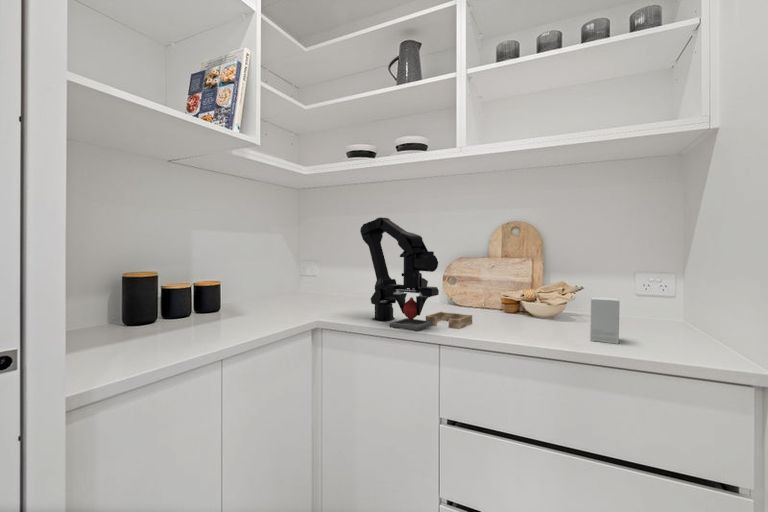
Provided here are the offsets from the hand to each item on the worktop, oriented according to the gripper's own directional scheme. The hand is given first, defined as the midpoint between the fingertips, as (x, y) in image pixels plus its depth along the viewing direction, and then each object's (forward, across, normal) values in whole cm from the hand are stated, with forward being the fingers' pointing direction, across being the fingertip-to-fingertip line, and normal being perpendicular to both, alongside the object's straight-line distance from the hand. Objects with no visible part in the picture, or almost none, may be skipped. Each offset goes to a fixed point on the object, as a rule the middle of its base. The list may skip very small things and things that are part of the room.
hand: (411, 314), depth 129 cm
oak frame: (+4, -9, -12) cm, 16 cm away
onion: (+2, 0, 0) cm, 2 cm away
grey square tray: (+4, 0, 0) cm, 4 cm away
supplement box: (+4, -58, -17) cm, 60 cm away
